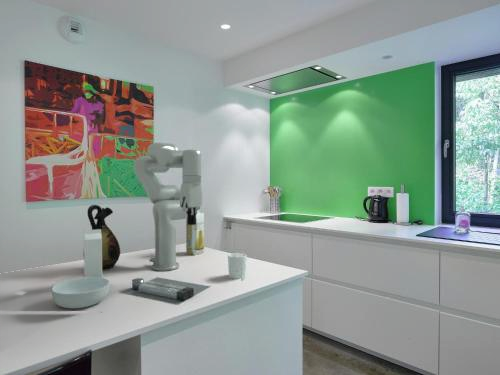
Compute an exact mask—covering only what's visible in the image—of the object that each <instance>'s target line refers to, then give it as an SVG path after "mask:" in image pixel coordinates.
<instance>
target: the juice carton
mask: <svg viewBox="0 0 500 375" xmlns="http://www.w3.org/2000/svg"><path fill="white" fill-rule="evenodd" d="M185 223H186V224H185V232H186V233H185V243H186V244H185V250H186V251H185V252H186V255H190V256H196V255H201V254H204V253H205V252H204V250H205V248H204V247H205V229H204V228H205V214H204V212H200V210H198V211H197V215H196V224H195V225H188V224H187V218H185Z"/></svg>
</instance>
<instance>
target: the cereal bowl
mask: <svg viewBox="0 0 500 375" xmlns="http://www.w3.org/2000/svg"><path fill="white" fill-rule="evenodd" d="M110 284H111V283H110V280H109V279H108V278H105V277H102V278H100V277H77V278H76V277H75V278H72V279H71V278H70V279H67V280H63V281H61V282H59V283H56V284H55V285H54V286H53V287H52V288H51V297H52V298H51V299H53V302H54V303H55V304H56V305H57V306H59V307H62V308H65V309H73V310H74V309H83V308H88V307H91V306H95V305H96V304H98V303H100V302H102V301H103V300H105V298H106V297H107V296H108V293H109V290H110Z"/></svg>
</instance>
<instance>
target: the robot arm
mask: <svg viewBox="0 0 500 375" xmlns="http://www.w3.org/2000/svg"><path fill="white" fill-rule="evenodd" d="M146 152H147V154H148V155H142V156H141V155H140V156H138V157H136V158H135V159H134V162H133V172H134V174H135V177H136V179H137V180H138V182H139V183H140V184H141V185H142V186H143V188H144V190H145V192H146V195H147V198H148V199H149V201H150V202H151V204H153V206H152V216H153V220H154V221H153V224H154V256H151V257H150V258H149V260H148V261H149V262H151V263H152V265H151V269H152V270H153V271H158V272H164V271H165V272H167V271H168V272H169V271H173V270H177V269H178V268H179V267H180V264H179V263H178V262H177V247H176V246H177V245H176V244H177V239H176V238H177V235H176V234H177V233H176V232H177V231H176V227H175V226H174V224H173V223H172V222H171V221H179V220H184V219H185V220H186V218H187V224H188V225H195V224H196V215H197V211H200V210H201V206H202V204H203V190H202V153H201V151H200V150H198V149H185V150H179V149H178V146H176V144H174V143H168V142H167V143H165V142H154V143H153V142H152V143H151V144H150V145H148V147H147V151H146ZM173 168H174V169H181V170H182V173H181V174H182V176H181V178H182V181H181V182H182V183H181V186H180V187H179V186H177V185H172V184H163V183H162V181H161V180H160V178H159V177H158V176H157V175H155V174H156V173H157V174H164V173H168V171H169V170H170V169H173Z"/></svg>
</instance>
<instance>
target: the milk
mask: <svg viewBox="0 0 500 375" xmlns="http://www.w3.org/2000/svg"><path fill="white" fill-rule="evenodd" d="M83 253H84V256H83V261H84V262H83V263H84V264H83V265H84V266H83V269H84V270H83V272H84V277H100V278H103V270H102V235H101V229H97V230H92V229H86V230H84V232H83Z"/></svg>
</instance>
